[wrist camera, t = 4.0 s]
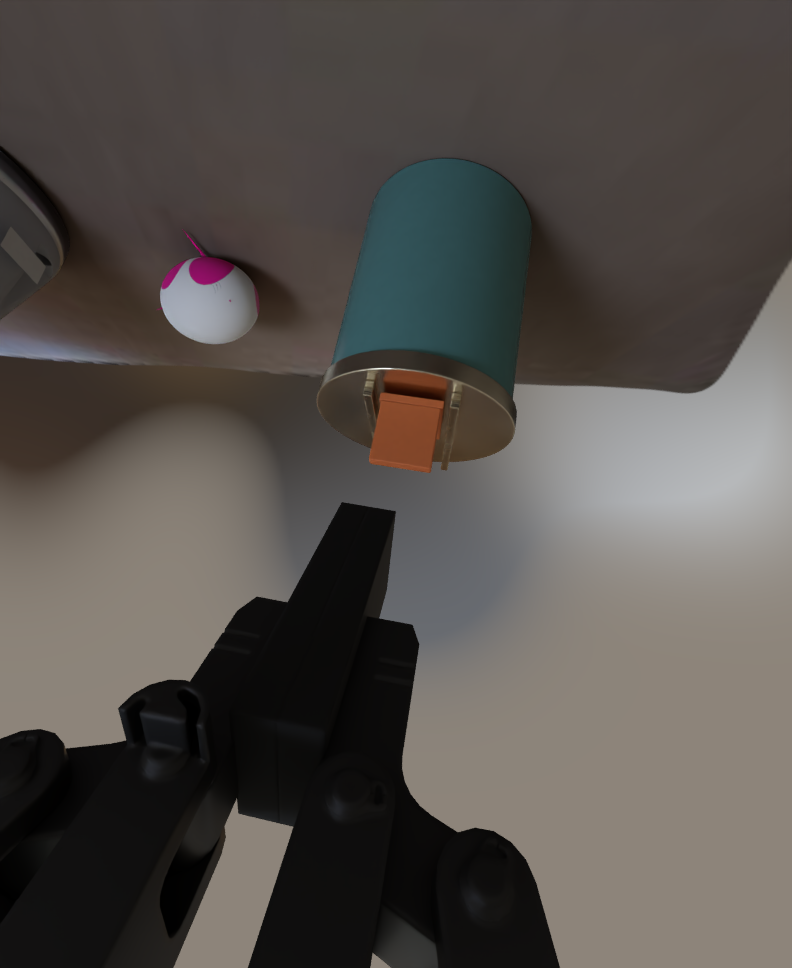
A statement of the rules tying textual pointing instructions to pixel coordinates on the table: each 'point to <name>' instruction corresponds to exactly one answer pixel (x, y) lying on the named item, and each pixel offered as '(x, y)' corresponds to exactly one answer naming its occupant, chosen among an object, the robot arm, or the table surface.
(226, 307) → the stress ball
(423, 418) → the slider
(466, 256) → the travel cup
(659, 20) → the table surface
